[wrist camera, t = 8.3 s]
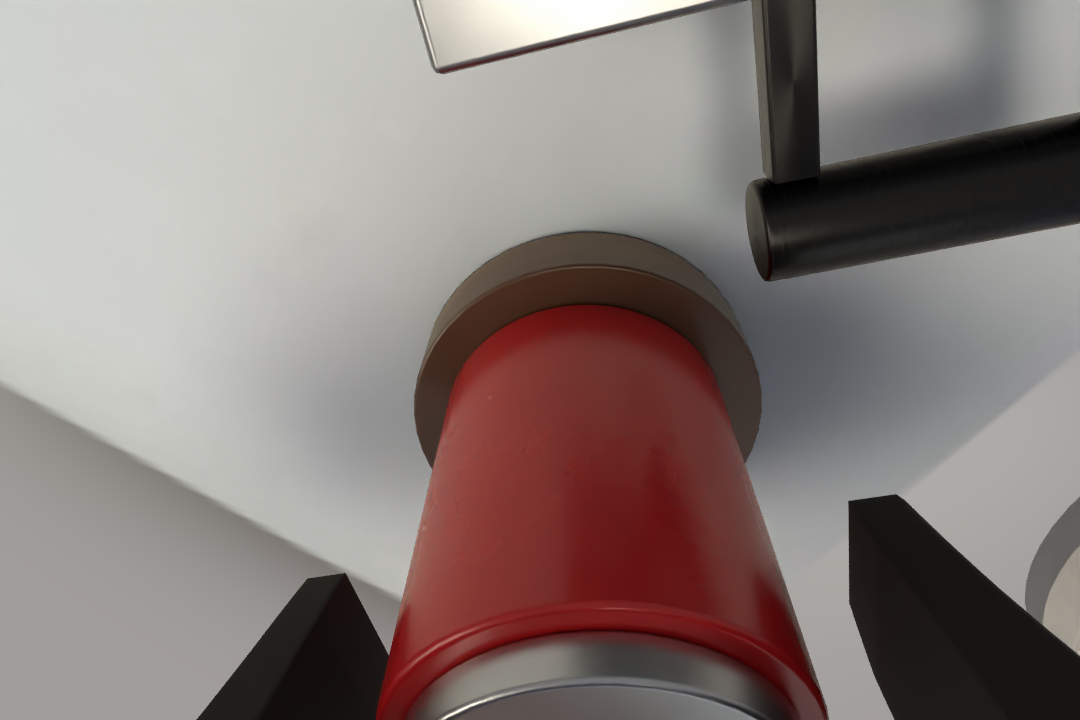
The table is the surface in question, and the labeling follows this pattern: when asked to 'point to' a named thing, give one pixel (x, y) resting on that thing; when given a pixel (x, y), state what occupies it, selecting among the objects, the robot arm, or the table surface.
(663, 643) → the can
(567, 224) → the table surface
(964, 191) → the drawer
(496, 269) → the stand
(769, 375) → the table surface
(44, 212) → the table surface
